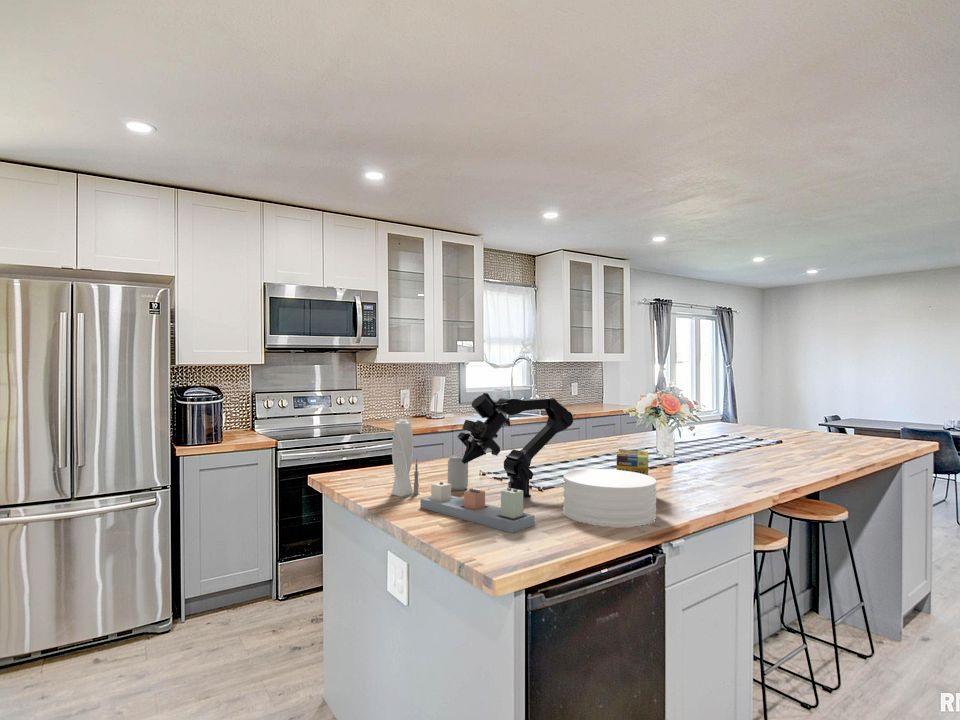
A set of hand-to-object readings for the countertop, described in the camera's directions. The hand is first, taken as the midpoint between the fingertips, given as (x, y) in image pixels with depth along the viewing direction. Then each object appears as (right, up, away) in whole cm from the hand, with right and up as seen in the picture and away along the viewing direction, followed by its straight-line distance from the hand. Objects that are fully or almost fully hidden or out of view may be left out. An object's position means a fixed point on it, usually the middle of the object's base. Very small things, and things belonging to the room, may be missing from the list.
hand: (463, 462), depth 178 cm
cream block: (-7, -13, -4) cm, 15 cm away
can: (-3, -14, +22) cm, 26 cm away
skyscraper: (-21, -14, +12) cm, 28 cm away
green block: (+15, -10, -24) cm, 30 cm away
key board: (+4, -13, -14) cm, 20 cm away
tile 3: (+4, -13, -14) cm, 20 cm away
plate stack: (+46, -14, -10) cm, 49 cm away
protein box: (+59, -15, +13) cm, 62 cm away
